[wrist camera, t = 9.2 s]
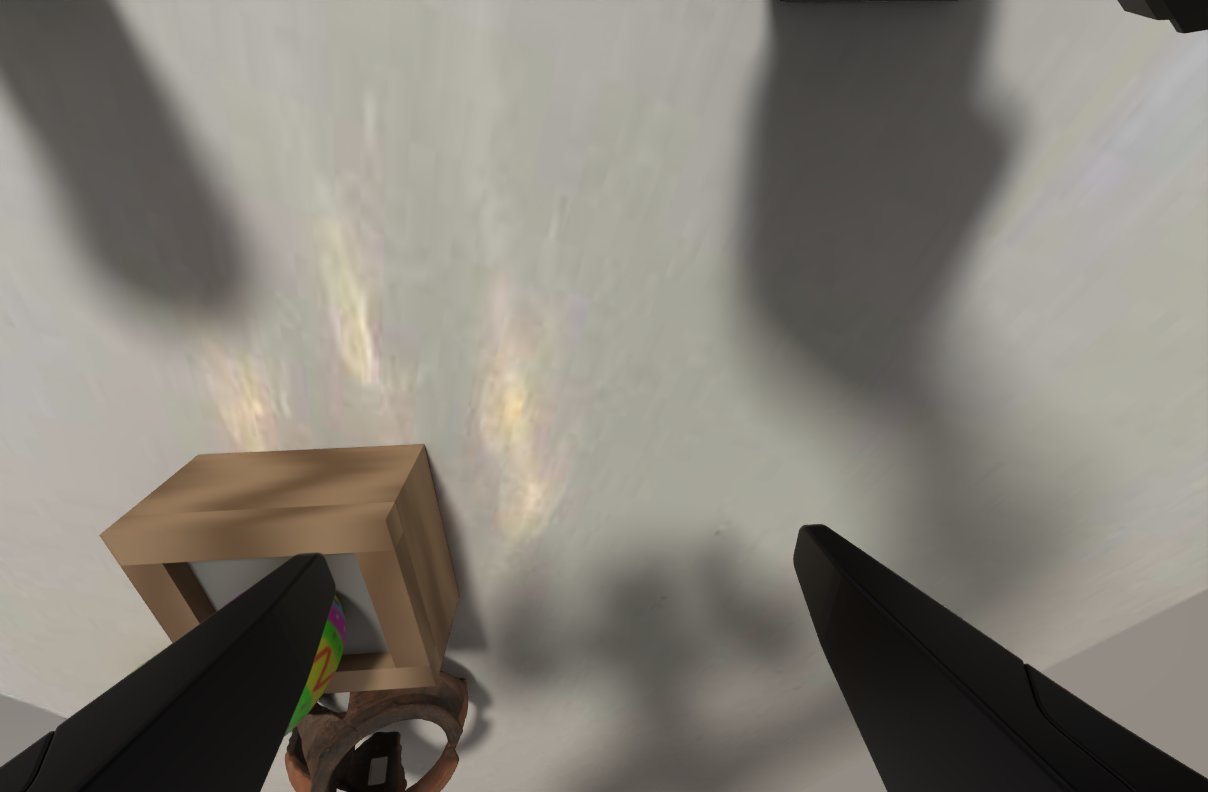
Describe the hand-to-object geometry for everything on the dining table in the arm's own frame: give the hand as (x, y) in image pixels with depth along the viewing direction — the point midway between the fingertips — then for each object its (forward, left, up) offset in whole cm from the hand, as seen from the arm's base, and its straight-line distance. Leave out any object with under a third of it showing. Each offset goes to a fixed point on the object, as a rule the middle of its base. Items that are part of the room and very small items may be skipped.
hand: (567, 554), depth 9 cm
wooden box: (+12, +10, -12) cm, 20 cm away
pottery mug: (+12, +23, -12) cm, 29 cm away
